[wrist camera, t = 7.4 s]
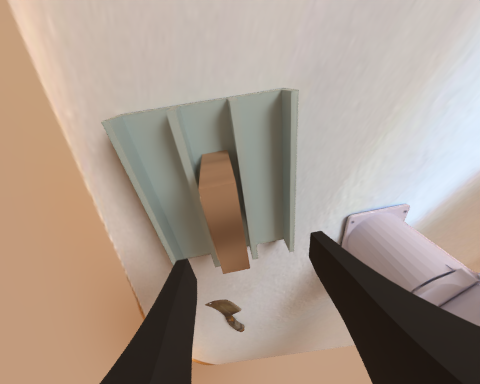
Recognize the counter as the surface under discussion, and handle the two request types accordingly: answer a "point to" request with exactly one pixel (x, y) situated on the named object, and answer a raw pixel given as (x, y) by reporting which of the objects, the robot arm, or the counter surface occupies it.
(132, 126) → the notched rack
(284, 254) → the counter surface
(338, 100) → the counter surface
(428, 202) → the counter surface
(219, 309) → the brown knife
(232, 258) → the tan wooden slab
